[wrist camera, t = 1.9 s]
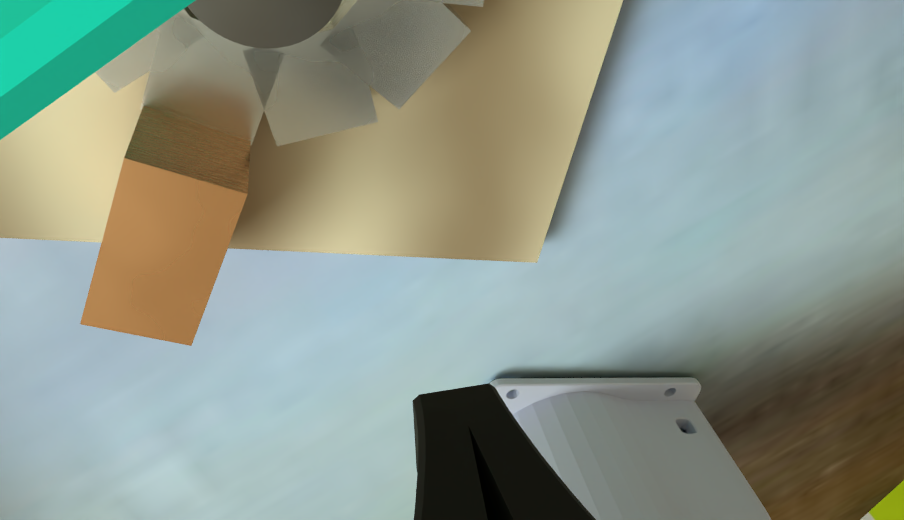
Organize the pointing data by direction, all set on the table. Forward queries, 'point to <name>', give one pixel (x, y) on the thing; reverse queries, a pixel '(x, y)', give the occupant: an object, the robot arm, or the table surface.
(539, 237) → the board
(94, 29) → the table top decor
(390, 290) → the table surface
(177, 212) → the flange
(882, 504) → the puzzle toy
